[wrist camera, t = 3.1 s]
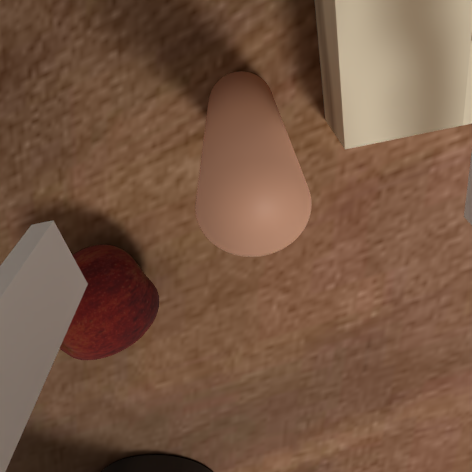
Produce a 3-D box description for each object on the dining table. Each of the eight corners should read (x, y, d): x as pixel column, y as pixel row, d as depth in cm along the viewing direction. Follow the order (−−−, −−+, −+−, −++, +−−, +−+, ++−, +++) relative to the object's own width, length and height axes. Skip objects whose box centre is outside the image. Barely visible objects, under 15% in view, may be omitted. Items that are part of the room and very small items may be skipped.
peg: (216, 143, 26) (211, 265, 15) (200, 79, 24) (181, 168, 13) (278, 130, 26) (316, 245, 15) (267, 64, 24) (304, 143, 13)
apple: (60, 218, 29) (11, 293, 22) (169, 234, 30) (153, 310, 23) (64, 296, 33) (23, 379, 26) (161, 308, 34) (145, 391, 27)
